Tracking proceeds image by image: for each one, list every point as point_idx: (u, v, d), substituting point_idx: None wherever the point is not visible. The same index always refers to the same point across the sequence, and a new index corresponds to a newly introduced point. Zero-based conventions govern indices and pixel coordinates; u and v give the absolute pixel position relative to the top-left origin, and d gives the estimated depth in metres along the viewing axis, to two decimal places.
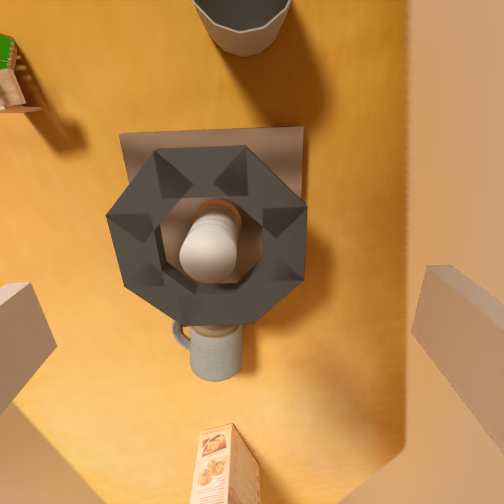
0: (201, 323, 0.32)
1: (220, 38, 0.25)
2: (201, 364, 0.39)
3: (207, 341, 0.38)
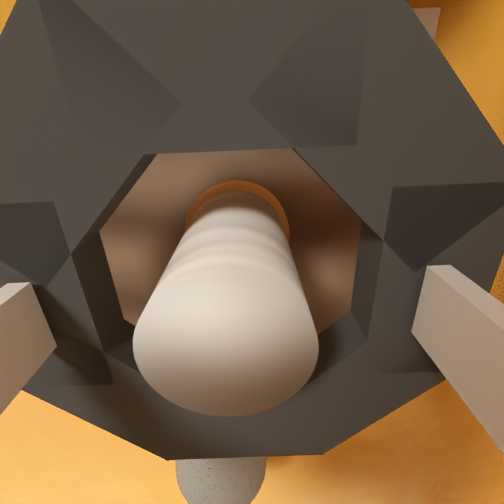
0: (206, 455, 0.14)
1: None
2: (194, 488, 0.21)
3: None
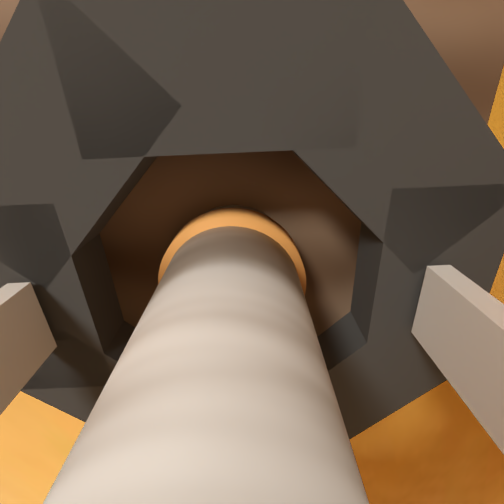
0: None
1: None
2: None
3: None
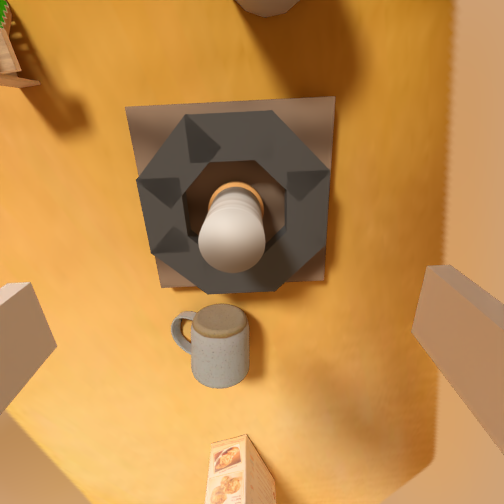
0: (224, 291, 0.32)
1: None
2: (204, 369, 0.35)
3: (211, 342, 0.33)
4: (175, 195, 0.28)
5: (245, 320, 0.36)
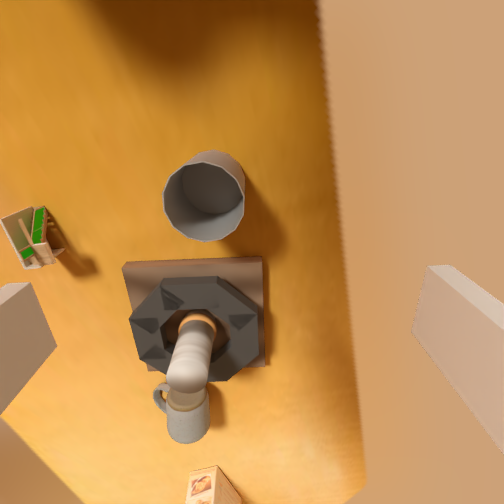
0: None
1: None
2: (174, 430, 0.49)
3: (178, 414, 0.48)
4: (155, 327, 0.42)
5: (205, 395, 0.50)
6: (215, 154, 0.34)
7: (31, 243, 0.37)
